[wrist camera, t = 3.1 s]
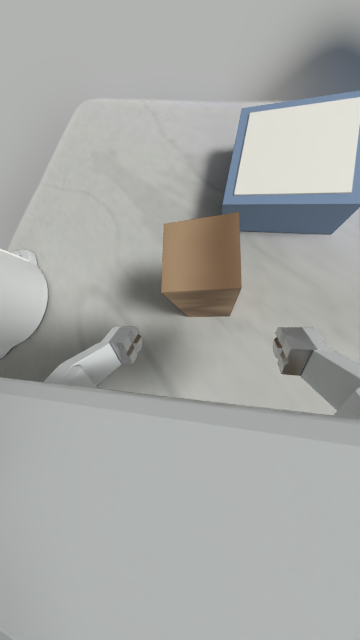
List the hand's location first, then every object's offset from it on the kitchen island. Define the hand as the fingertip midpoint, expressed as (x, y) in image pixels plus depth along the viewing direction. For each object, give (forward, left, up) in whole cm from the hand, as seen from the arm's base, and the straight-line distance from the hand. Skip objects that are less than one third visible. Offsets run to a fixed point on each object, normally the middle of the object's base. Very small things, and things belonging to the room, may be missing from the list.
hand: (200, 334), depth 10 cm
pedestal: (+5, +20, -10) cm, 23 cm away
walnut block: (-1, +5, -10) cm, 11 cm away
